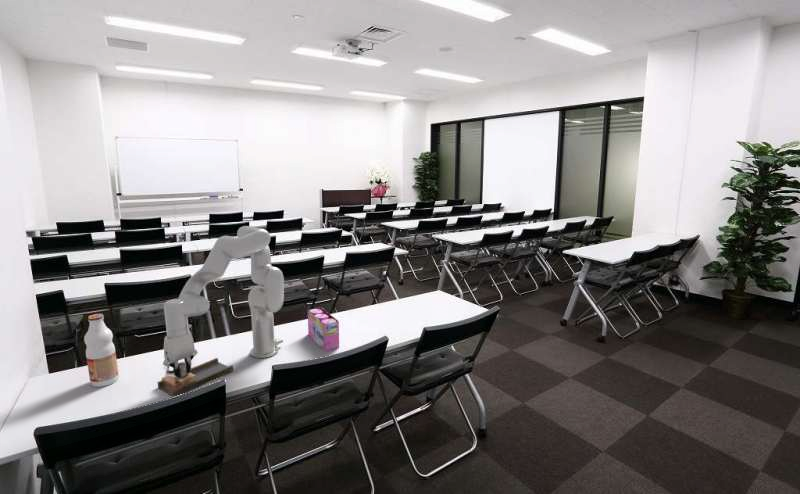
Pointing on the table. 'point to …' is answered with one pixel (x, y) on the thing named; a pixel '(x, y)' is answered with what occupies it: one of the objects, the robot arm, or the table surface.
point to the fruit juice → (100, 353)
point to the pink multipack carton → (323, 328)
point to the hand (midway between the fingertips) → (182, 374)
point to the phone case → (170, 369)
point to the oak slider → (184, 375)
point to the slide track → (203, 376)
